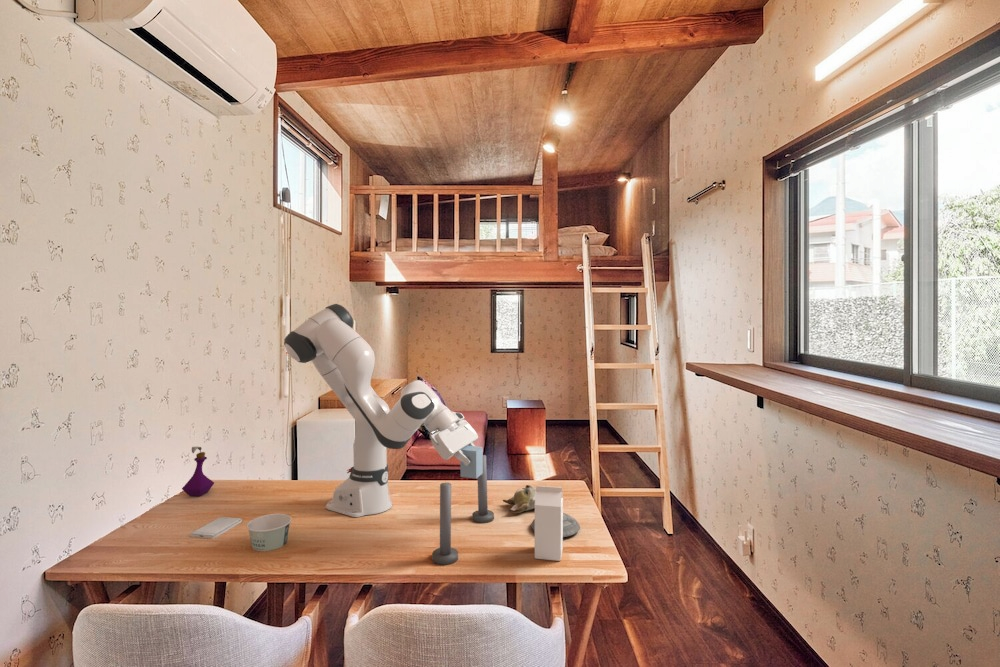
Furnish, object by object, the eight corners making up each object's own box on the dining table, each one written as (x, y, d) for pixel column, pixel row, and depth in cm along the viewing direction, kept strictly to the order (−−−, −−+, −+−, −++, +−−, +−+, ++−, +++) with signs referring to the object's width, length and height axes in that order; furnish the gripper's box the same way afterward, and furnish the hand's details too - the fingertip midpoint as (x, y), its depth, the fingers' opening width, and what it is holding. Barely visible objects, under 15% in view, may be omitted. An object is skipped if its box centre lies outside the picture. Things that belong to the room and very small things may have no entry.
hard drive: (219, 516, 163) (189, 532, 151) (242, 518, 162) (213, 534, 149) (219, 521, 163) (189, 538, 151) (242, 523, 162) (213, 540, 149)
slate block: (460, 476, 147) (460, 449, 147) (467, 471, 152) (467, 445, 152) (476, 478, 146) (476, 451, 145) (482, 473, 150) (482, 446, 150)
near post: (427, 562, 135) (428, 487, 134) (439, 550, 142) (439, 478, 141) (451, 567, 133) (452, 490, 132) (462, 554, 139) (462, 482, 138)
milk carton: (560, 561, 135) (560, 492, 135) (534, 559, 137) (534, 490, 136) (562, 549, 142) (563, 483, 142) (537, 547, 144) (537, 481, 143)
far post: (469, 521, 161) (467, 458, 160) (476, 513, 168) (475, 452, 167) (490, 524, 159) (488, 459, 158) (496, 515, 166) (495, 453, 165)
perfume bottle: (196, 490, 190) (195, 443, 189) (214, 491, 189) (213, 443, 188) (181, 497, 182) (180, 448, 182) (200, 498, 181) (199, 449, 181)
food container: (237, 552, 141) (236, 529, 141) (263, 533, 153) (262, 512, 153) (277, 555, 140) (276, 531, 139) (300, 535, 151) (299, 514, 151)
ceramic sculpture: (551, 487, 167) (507, 493, 164) (553, 513, 167) (509, 519, 164) (542, 477, 177) (501, 483, 174) (544, 501, 178) (502, 507, 175)
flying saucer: (589, 530, 155) (589, 513, 155) (559, 546, 145) (559, 527, 144) (552, 516, 166) (552, 500, 166) (521, 530, 155) (521, 512, 155)
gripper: (434, 425, 141) (466, 464, 138) (463, 412, 160) (492, 445, 157) (420, 440, 142) (451, 478, 139) (451, 425, 162) (479, 458, 159)
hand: (473, 460), depth 148 cm, fingers closed on slate block, 5 cm apart
